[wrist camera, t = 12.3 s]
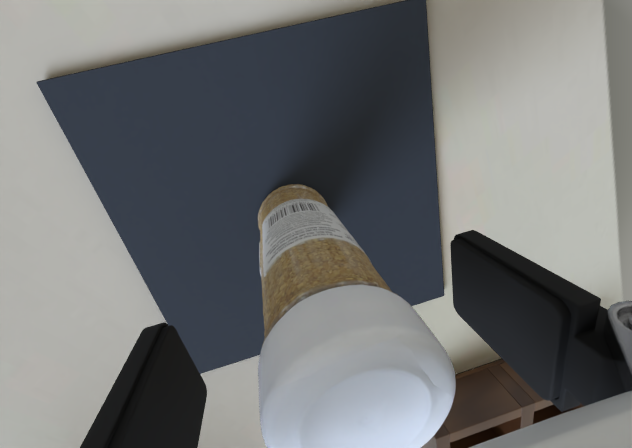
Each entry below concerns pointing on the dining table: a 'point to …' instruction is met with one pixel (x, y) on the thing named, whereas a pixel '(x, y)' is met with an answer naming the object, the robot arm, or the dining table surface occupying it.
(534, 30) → the dining table surface
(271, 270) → the sprinkles bottle
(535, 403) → the spice rack
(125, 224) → the table mat
